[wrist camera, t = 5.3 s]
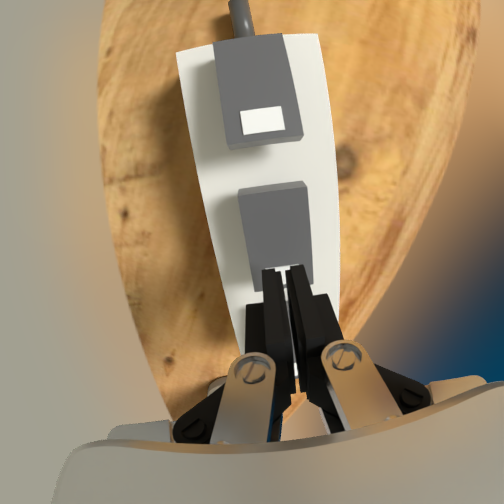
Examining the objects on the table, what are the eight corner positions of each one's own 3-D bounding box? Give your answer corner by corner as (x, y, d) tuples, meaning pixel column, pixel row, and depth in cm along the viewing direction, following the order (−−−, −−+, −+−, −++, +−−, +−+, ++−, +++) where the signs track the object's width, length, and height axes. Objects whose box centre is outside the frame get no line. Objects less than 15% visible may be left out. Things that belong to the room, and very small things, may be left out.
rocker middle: (238, 189, 13) (237, 196, 12) (302, 180, 12) (307, 187, 11) (254, 279, 15) (254, 292, 14) (309, 271, 15) (313, 284, 14)
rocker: (216, 54, 10) (212, 41, 9) (280, 45, 10) (282, 32, 9) (230, 150, 11) (226, 145, 10) (300, 141, 11) (304, 134, 10)
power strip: (183, 19, 12) (162, -8, 8) (293, 4, 12) (305, -28, 8) (242, 325, 23) (240, 367, 19) (326, 314, 22) (338, 354, 18)
